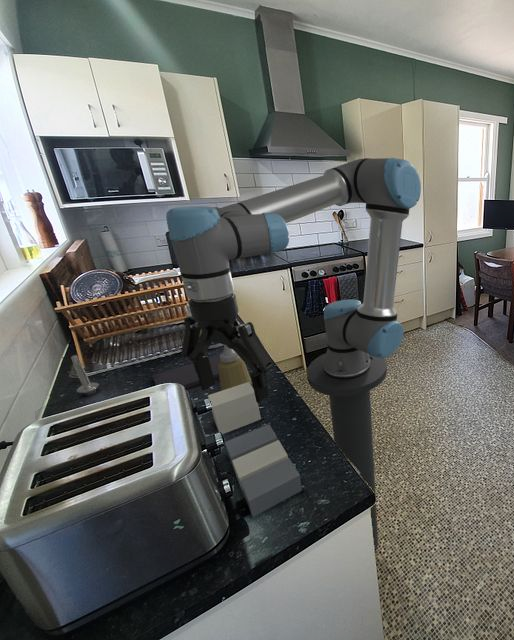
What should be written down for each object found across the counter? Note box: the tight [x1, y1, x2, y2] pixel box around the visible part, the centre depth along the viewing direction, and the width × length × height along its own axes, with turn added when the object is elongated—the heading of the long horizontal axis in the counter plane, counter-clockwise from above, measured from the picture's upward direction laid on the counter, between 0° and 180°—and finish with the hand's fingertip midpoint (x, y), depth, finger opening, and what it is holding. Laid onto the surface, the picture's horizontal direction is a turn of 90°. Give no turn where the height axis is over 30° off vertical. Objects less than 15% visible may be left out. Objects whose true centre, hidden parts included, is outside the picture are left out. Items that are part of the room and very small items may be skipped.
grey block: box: [224, 423, 279, 472], centre depth 82 cm, size 10×6×4 cm, turn 130°
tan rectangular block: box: [232, 439, 289, 493], centre depth 77 cm, size 10×6×4 cm, turn 130°
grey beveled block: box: [240, 457, 303, 518], centre depth 72 cm, size 10×6×4 cm, turn 130°
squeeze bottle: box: [218, 345, 252, 391], centre depth 100 cm, size 8×8×18 cm
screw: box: [70, 355, 100, 397], centre depth 100 cm, size 13×5×5 cm
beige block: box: [207, 382, 259, 421], centre depth 91 cm, size 10×6×4 cm, turn 130°
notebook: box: [152, 354, 221, 390], centre depth 112 cm, size 13×2×21 cm
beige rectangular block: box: [211, 405, 262, 435], centre depth 92 cm, size 10×6×4 cm, turn 130°
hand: (235, 392), depth 71 cm, fingers open, 13 cm apart
